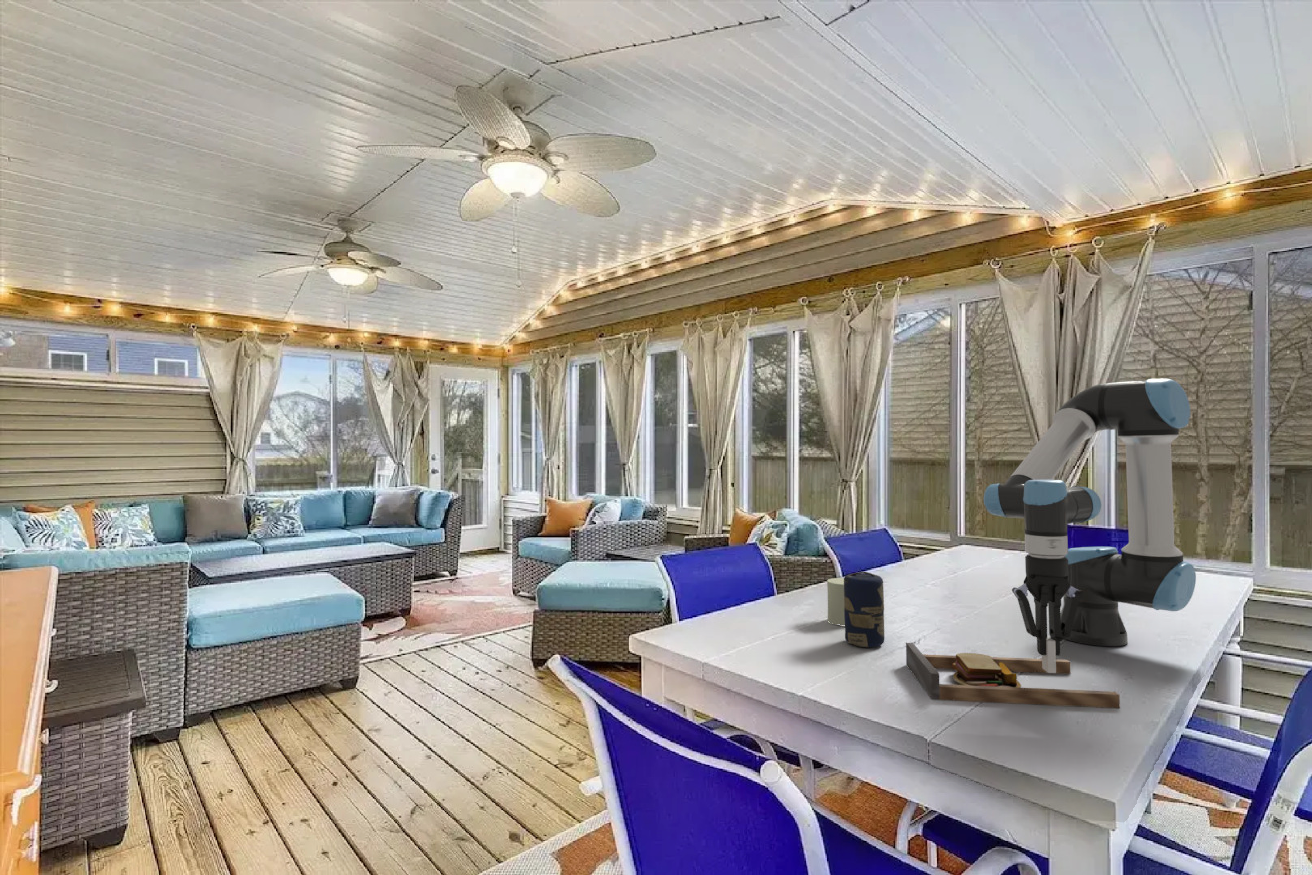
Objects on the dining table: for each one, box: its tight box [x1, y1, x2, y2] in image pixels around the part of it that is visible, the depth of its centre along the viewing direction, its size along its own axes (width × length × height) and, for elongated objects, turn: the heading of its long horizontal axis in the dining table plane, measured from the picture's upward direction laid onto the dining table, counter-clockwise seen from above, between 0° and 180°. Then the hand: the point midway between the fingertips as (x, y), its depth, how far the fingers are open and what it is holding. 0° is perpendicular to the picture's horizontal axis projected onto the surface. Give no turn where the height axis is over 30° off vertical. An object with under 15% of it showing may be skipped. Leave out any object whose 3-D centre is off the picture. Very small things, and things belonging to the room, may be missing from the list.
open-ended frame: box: [905, 642, 1121, 709], centre depth 132 cm, size 34×20×5 cm, turn 82°
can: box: [826, 577, 845, 625], centre depth 180 cm, size 9×9×12 cm
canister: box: [843, 571, 885, 648], centre depth 160 cm, size 10×10×18 cm
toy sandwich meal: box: [952, 652, 1022, 688], centre depth 133 cm, size 12×14×5 cm
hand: (1049, 670), depth 131 cm, fingers closed
